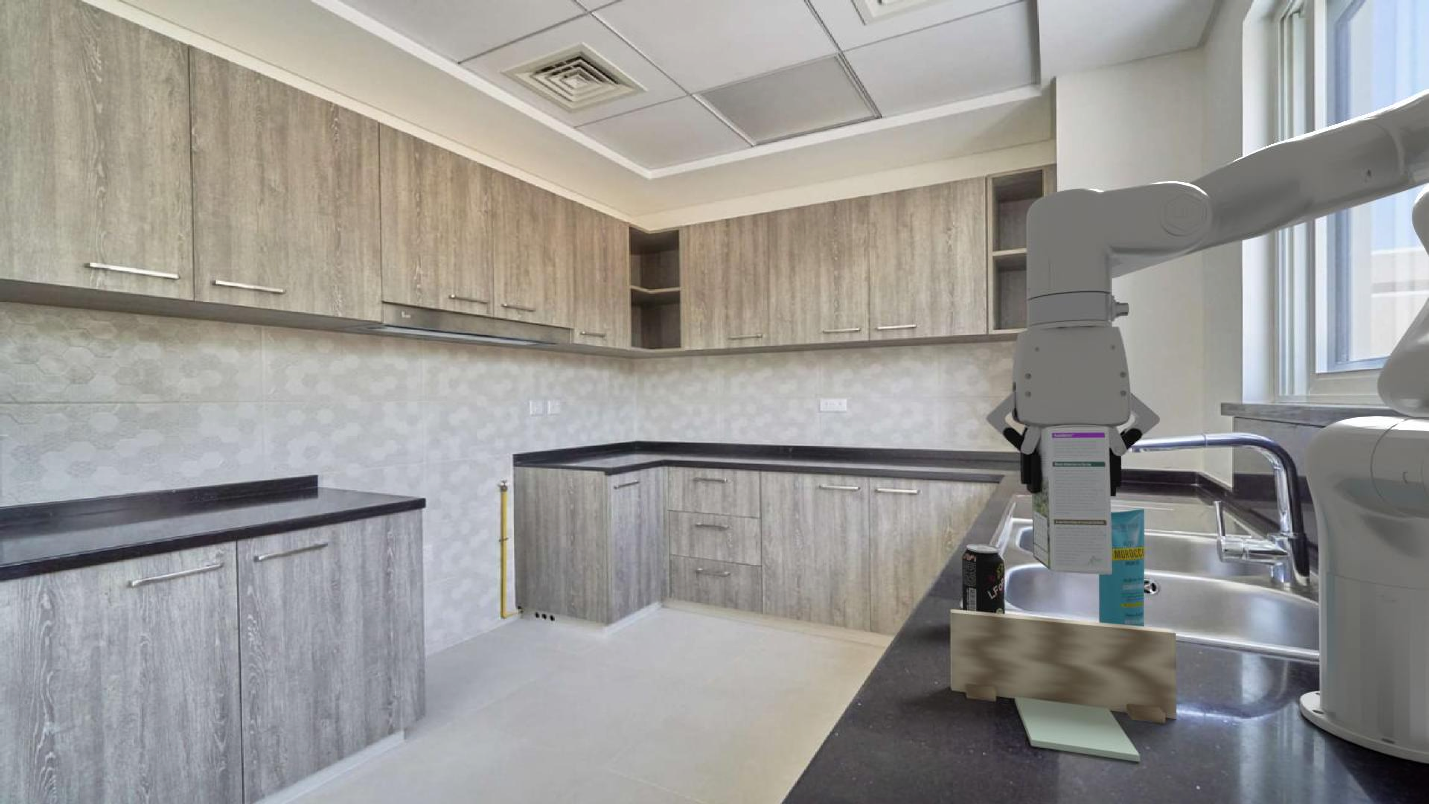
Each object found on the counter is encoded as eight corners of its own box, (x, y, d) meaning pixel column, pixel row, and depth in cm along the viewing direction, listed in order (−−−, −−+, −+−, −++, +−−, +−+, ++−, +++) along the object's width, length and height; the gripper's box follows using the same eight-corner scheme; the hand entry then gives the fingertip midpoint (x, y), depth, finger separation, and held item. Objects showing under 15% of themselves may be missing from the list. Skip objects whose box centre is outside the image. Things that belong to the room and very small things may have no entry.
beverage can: (1003, 624, 91) (1003, 544, 91) (1006, 638, 85) (1005, 553, 85) (962, 619, 93) (962, 541, 93) (962, 632, 87) (961, 549, 88)
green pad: (1108, 714, 64) (1108, 708, 64) (1139, 761, 56) (1139, 755, 56) (1015, 702, 67) (1015, 696, 67) (1031, 745, 58) (1031, 739, 58)
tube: (1120, 669, 75) (1119, 515, 75) (1084, 654, 80) (1083, 508, 80) (1160, 659, 78) (1158, 511, 78) (1122, 646, 82) (1121, 505, 82)
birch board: (1166, 707, 66) (1165, 624, 66) (1182, 725, 62) (1181, 638, 62) (950, 680, 72) (949, 605, 72) (952, 695, 68) (952, 616, 68)
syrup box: (1114, 575, 58) (1113, 425, 58) (1047, 572, 59) (1047, 424, 59) (1090, 560, 64) (1089, 423, 64) (1029, 558, 65) (1029, 423, 65)
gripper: (1152, 317, 63) (1153, 491, 62) (972, 325, 68) (973, 485, 68) (1184, 306, 55) (1186, 502, 55) (980, 315, 61) (982, 495, 60)
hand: (1069, 491), depth 61 cm, fingers closed on syrup box, 6 cm apart
